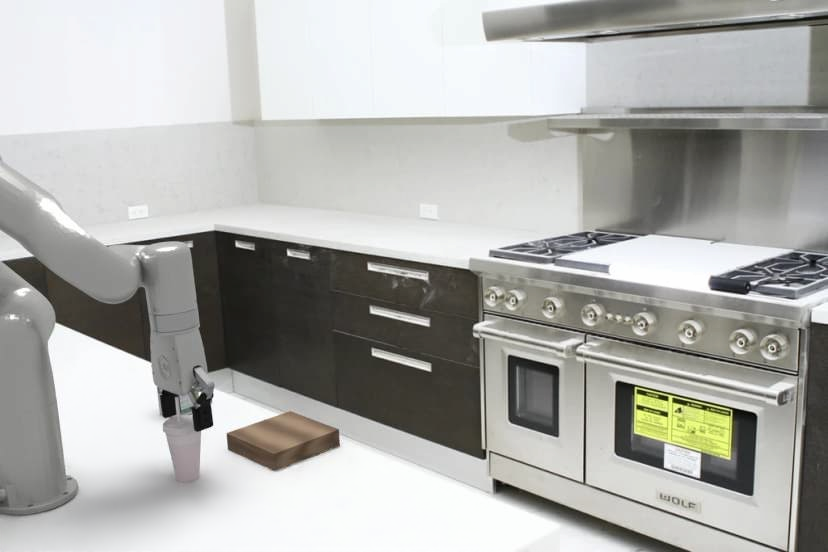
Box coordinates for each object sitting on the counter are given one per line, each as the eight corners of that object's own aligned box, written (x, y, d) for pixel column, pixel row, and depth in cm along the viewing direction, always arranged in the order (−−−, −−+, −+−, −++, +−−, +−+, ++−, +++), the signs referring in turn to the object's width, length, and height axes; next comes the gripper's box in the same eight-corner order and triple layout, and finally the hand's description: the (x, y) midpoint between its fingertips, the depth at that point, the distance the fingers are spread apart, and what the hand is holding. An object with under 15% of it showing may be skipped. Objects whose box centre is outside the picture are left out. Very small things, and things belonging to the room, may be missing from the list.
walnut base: (275, 470, 148) (274, 453, 147) (227, 449, 157) (226, 433, 157) (339, 445, 157) (338, 429, 157) (291, 426, 167) (290, 411, 166)
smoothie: (163, 474, 148) (155, 394, 145) (202, 466, 151) (195, 387, 148) (172, 489, 142) (164, 406, 139) (212, 480, 145) (205, 398, 142)
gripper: (126, 318, 144) (140, 417, 148) (182, 334, 132) (196, 442, 136) (167, 307, 149) (180, 404, 153) (225, 322, 137) (237, 426, 141)
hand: (187, 422), depth 145 cm, fingers open, 9 cm apart
